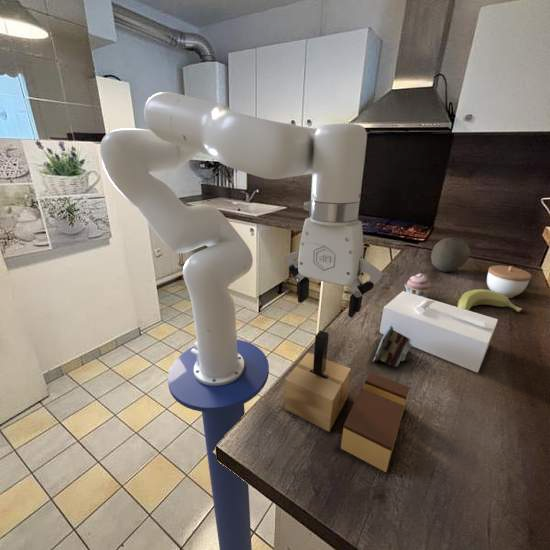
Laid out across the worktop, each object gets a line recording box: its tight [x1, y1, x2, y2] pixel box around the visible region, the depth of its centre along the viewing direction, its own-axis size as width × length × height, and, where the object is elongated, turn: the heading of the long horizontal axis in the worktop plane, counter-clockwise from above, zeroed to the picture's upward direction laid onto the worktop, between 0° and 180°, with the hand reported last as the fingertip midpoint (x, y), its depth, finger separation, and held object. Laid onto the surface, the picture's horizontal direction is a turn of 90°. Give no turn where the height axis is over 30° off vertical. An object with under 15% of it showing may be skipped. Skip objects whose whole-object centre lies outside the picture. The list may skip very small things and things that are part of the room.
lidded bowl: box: [486, 265, 532, 299], centre depth 108 cm, size 13×13×11 cm
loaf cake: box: [340, 387, 405, 473], centre depth 53 cm, size 8×10×6 cm
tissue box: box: [379, 290, 499, 374], centre depth 81 cm, size 14×25×11 cm, turn 47°
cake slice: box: [363, 371, 410, 419], centre depth 60 cm, size 8×3×6 cm, turn 57°
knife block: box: [284, 352, 352, 432], centre depth 60 cm, size 10×10×8 cm
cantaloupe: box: [430, 236, 471, 273], centre depth 128 cm, size 14×14×15 cm
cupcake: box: [403, 272, 434, 298], centre depth 105 cm, size 9×9×10 cm
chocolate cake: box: [372, 324, 413, 368], centre depth 76 cm, size 10×7×12 cm
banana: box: [457, 288, 523, 314], centre depth 98 cm, size 14×6×20 cm
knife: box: [312, 330, 330, 379], centre depth 58 cm, size 3×2×18 cm
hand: (326, 306), depth 53 cm, fingers open, 9 cm apart
